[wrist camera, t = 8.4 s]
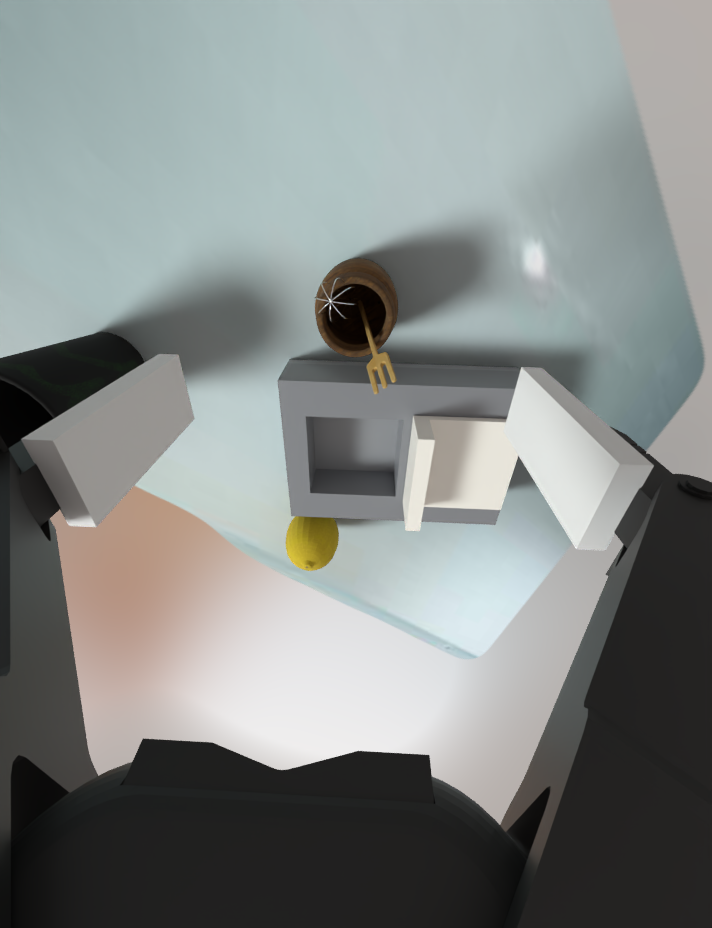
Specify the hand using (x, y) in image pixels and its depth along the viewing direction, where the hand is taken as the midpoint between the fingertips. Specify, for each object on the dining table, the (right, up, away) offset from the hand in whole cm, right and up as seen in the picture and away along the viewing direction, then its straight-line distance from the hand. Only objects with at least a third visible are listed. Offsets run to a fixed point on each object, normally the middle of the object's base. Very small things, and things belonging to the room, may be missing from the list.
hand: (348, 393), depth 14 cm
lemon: (-4, -8, +28) cm, 30 cm away
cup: (-22, +6, +19) cm, 29 cm away
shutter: (+9, -3, +17) cm, 20 cm away
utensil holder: (+1, +10, +15) cm, 18 cm away
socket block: (+4, 0, +22) cm, 22 cm away
